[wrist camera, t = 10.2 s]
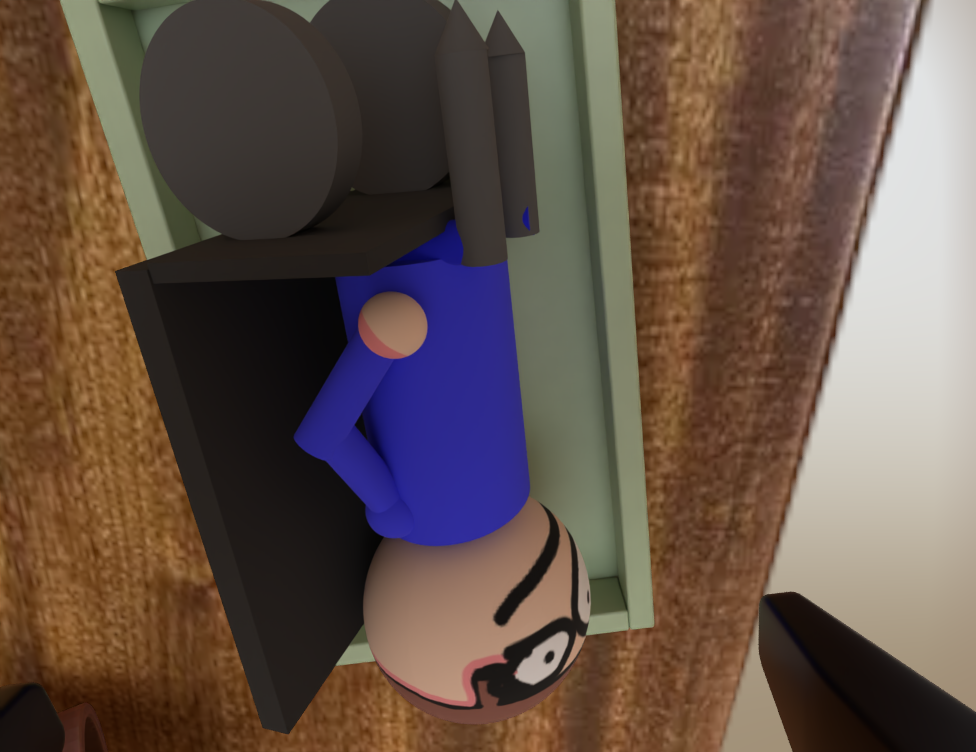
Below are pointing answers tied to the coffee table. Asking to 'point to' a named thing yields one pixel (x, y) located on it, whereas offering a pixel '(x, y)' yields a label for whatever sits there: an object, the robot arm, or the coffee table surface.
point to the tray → (531, 264)
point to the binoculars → (82, 730)
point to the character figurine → (355, 349)
